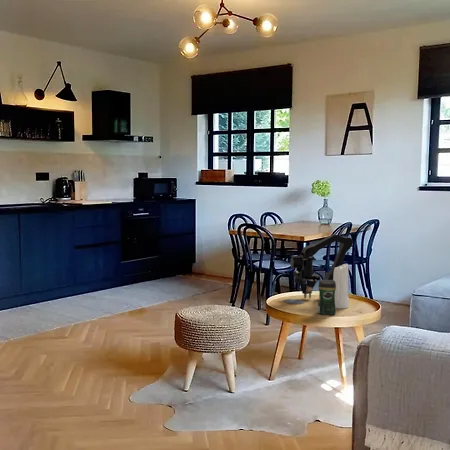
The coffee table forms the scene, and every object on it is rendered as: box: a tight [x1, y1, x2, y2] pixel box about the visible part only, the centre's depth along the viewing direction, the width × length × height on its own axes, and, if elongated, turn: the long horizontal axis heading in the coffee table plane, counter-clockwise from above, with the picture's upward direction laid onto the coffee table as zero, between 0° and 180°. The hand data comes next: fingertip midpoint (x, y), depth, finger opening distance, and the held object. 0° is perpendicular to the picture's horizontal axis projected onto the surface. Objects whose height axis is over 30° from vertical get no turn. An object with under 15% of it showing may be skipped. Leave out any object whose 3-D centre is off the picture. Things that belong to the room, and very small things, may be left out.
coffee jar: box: [317, 279, 337, 316], centre depth 303 cm, size 10×8×19 cm
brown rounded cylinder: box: [301, 285, 313, 299], centre depth 337 cm, size 6×6×6 cm
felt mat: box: [283, 298, 305, 305], centre depth 331 cm, size 12×12×1 cm
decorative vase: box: [333, 263, 350, 309], centre depth 320 cm, size 11×11×25 cm
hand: (306, 293), depth 337 cm, fingers closed on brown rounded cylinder, 6 cm apart
